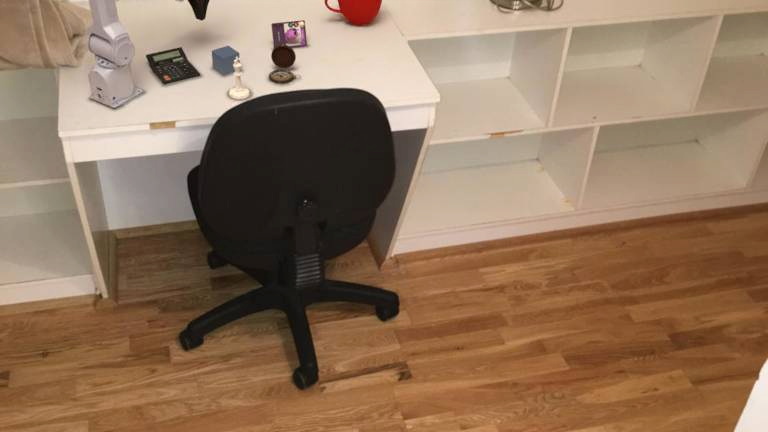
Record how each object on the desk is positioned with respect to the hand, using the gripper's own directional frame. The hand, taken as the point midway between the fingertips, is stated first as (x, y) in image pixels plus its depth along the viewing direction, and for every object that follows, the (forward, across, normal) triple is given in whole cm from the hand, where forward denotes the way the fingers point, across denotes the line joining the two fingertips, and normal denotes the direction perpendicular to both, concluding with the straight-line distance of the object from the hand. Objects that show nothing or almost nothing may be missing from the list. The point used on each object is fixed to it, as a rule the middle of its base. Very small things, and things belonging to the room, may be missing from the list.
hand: (200, 18), depth 201 cm
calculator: (+10, -12, 0) cm, 15 cm away
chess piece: (+10, -11, -21) cm, 25 cm away
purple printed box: (+10, +17, -15) cm, 25 cm away
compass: (+10, +2, -25) cm, 27 cm away
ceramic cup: (+10, +39, -21) cm, 46 cm away
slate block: (+9, -4, -11) cm, 15 cm away
